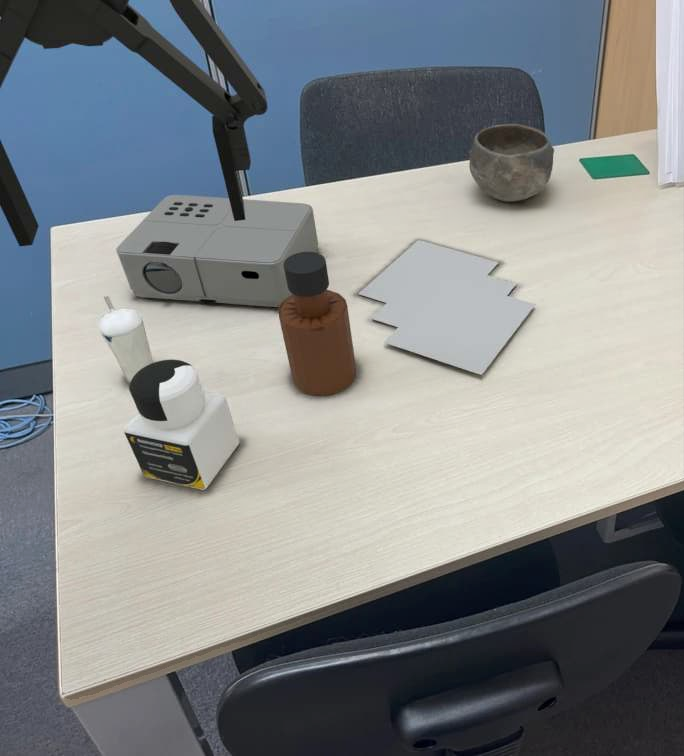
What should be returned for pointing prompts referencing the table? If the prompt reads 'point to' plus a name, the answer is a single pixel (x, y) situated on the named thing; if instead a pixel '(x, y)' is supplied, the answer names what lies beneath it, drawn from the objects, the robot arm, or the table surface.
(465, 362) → the paper stack
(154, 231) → the projector
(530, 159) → the bowl
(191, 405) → the medicine bottle
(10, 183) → the robot arm
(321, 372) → the bottle
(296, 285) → the stopper
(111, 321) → the milkshake
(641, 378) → the table surface
